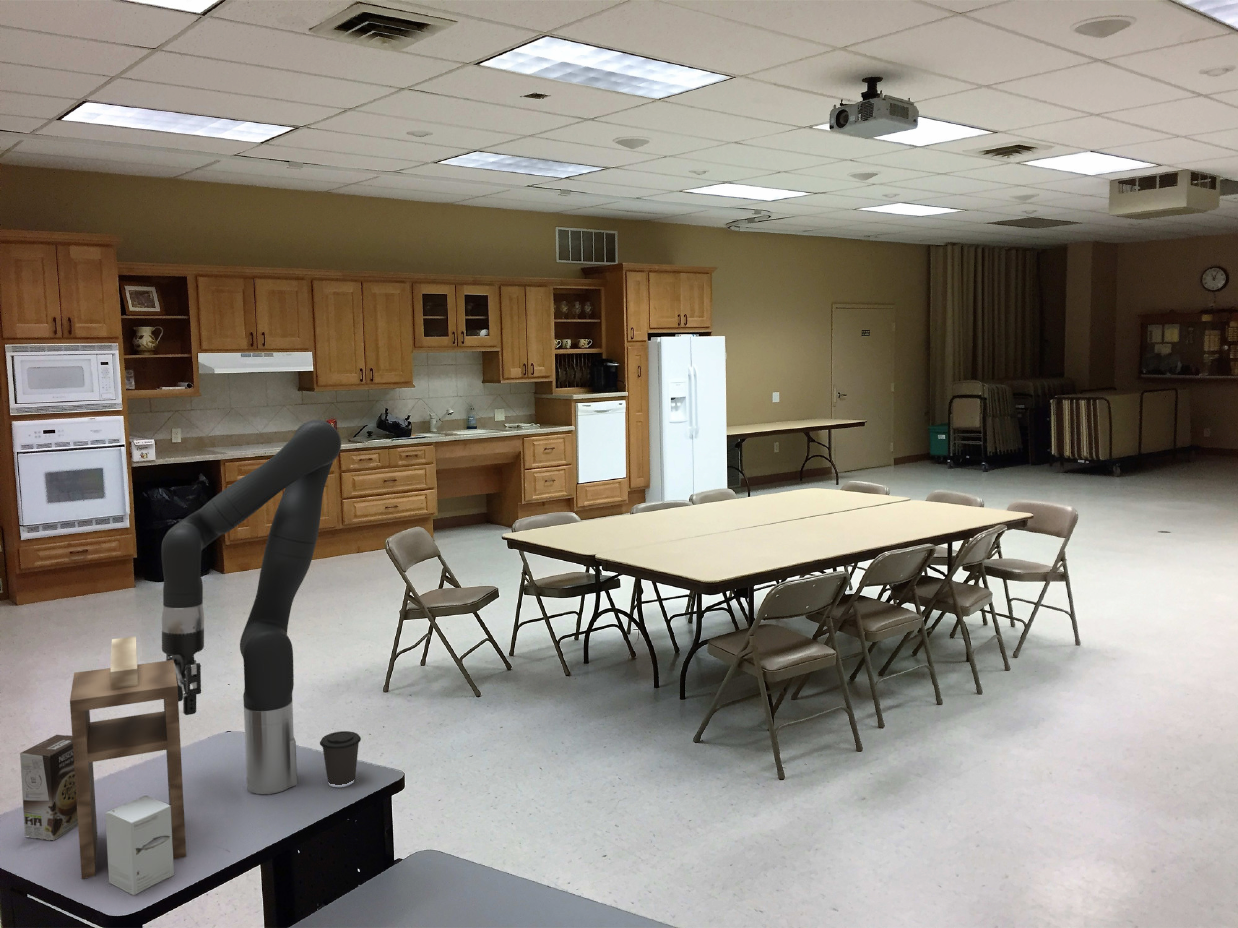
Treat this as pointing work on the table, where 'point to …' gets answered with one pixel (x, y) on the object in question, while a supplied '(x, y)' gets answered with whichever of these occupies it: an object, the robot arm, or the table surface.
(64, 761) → the coffee box
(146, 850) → the supplement box
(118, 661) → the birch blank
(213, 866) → the table surface
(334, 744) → the coffee cup
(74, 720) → the walnut rack
